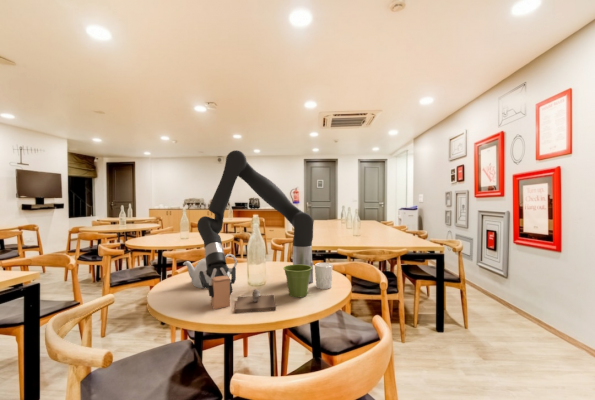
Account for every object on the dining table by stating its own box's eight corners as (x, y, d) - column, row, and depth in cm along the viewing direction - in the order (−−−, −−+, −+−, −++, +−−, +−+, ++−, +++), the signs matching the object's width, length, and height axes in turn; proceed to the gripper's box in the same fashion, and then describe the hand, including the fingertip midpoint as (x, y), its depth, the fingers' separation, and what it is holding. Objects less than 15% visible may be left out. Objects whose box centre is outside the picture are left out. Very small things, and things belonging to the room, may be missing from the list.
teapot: (221, 290, 112) (221, 259, 112) (182, 288, 115) (182, 258, 115) (237, 278, 130) (237, 251, 130) (203, 276, 133) (203, 250, 133)
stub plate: (273, 297, 103) (273, 283, 103) (275, 310, 91) (275, 294, 91) (237, 300, 101) (237, 285, 101) (235, 312, 89) (235, 296, 89)
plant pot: (314, 291, 111) (314, 264, 111) (309, 301, 99) (308, 272, 99) (288, 289, 114) (288, 263, 114) (279, 298, 102) (279, 270, 102)
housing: (226, 301, 100) (226, 275, 100) (229, 306, 95) (229, 278, 95) (211, 303, 97) (211, 277, 97) (214, 309, 92) (214, 281, 92)
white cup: (321, 291, 111) (320, 267, 111) (311, 285, 118) (311, 263, 118) (336, 288, 115) (336, 265, 115) (326, 283, 122) (326, 261, 122)
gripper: (197, 252, 99) (201, 293, 89) (234, 249, 106) (242, 286, 96) (195, 263, 104) (199, 303, 93) (231, 259, 111) (238, 296, 100)
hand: (221, 295), depth 95 cm, fingers closed on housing, 5 cm apart
